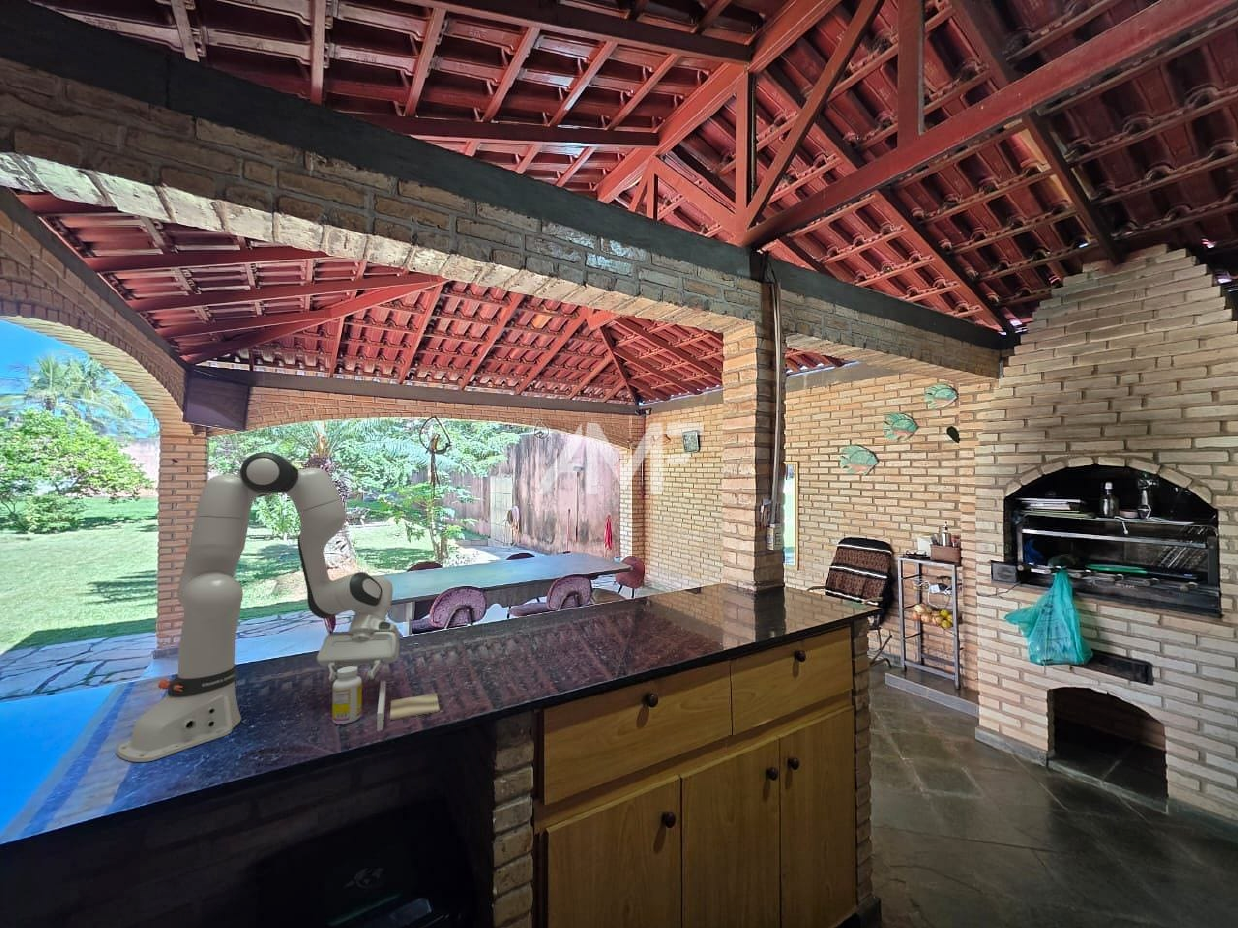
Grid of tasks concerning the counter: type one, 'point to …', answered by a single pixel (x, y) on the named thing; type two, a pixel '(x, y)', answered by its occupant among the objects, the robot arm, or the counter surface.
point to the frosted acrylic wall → (381, 706)
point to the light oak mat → (414, 706)
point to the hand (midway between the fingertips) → (351, 679)
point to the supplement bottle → (347, 696)
